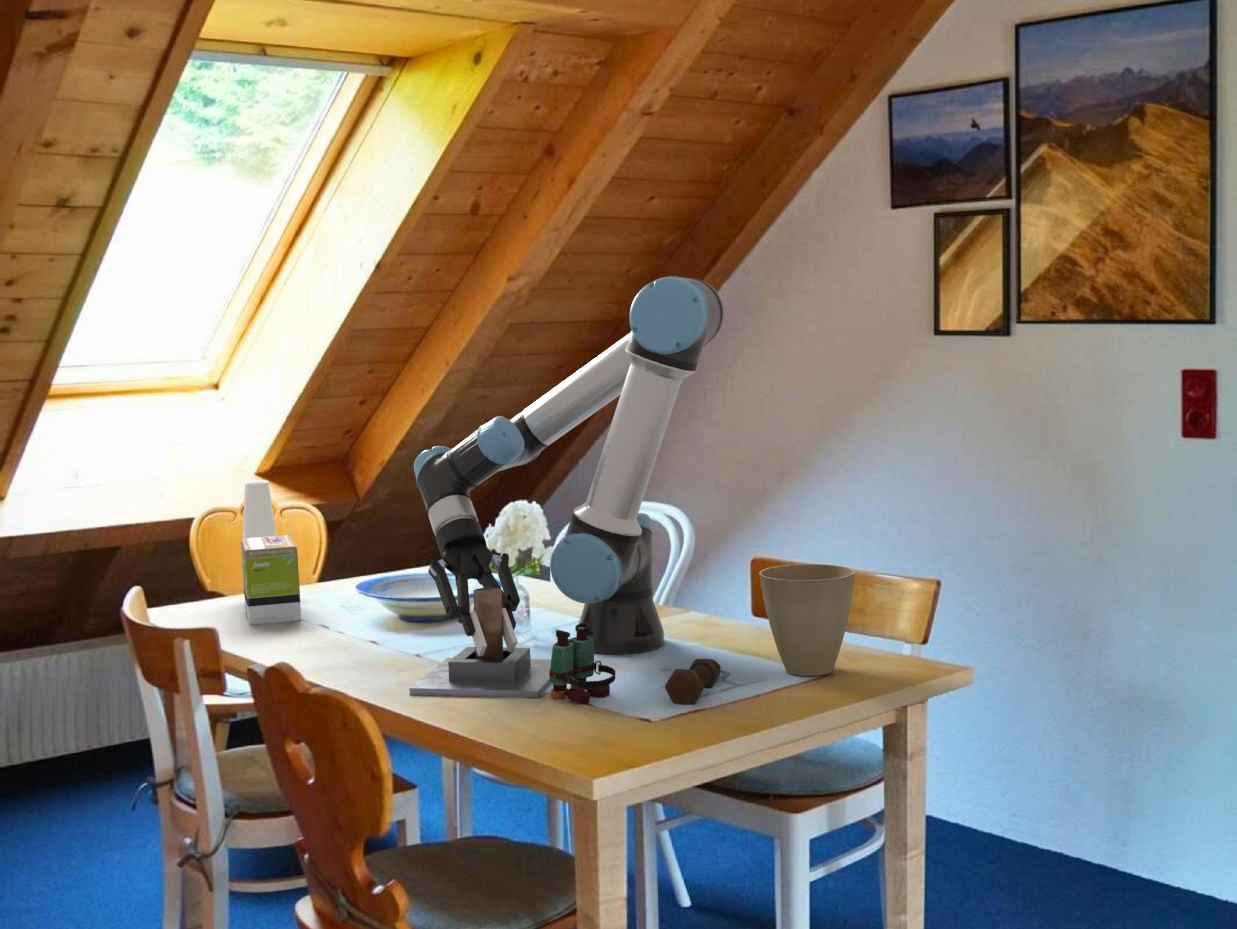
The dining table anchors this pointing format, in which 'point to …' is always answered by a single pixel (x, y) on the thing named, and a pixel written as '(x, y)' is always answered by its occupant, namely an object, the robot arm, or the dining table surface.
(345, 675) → the dining table surface
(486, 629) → the peg
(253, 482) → the grey tapered column
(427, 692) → the socket
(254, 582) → the tea box
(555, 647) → the binoculars
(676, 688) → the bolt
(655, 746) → the dining table surface
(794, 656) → the plant pot
